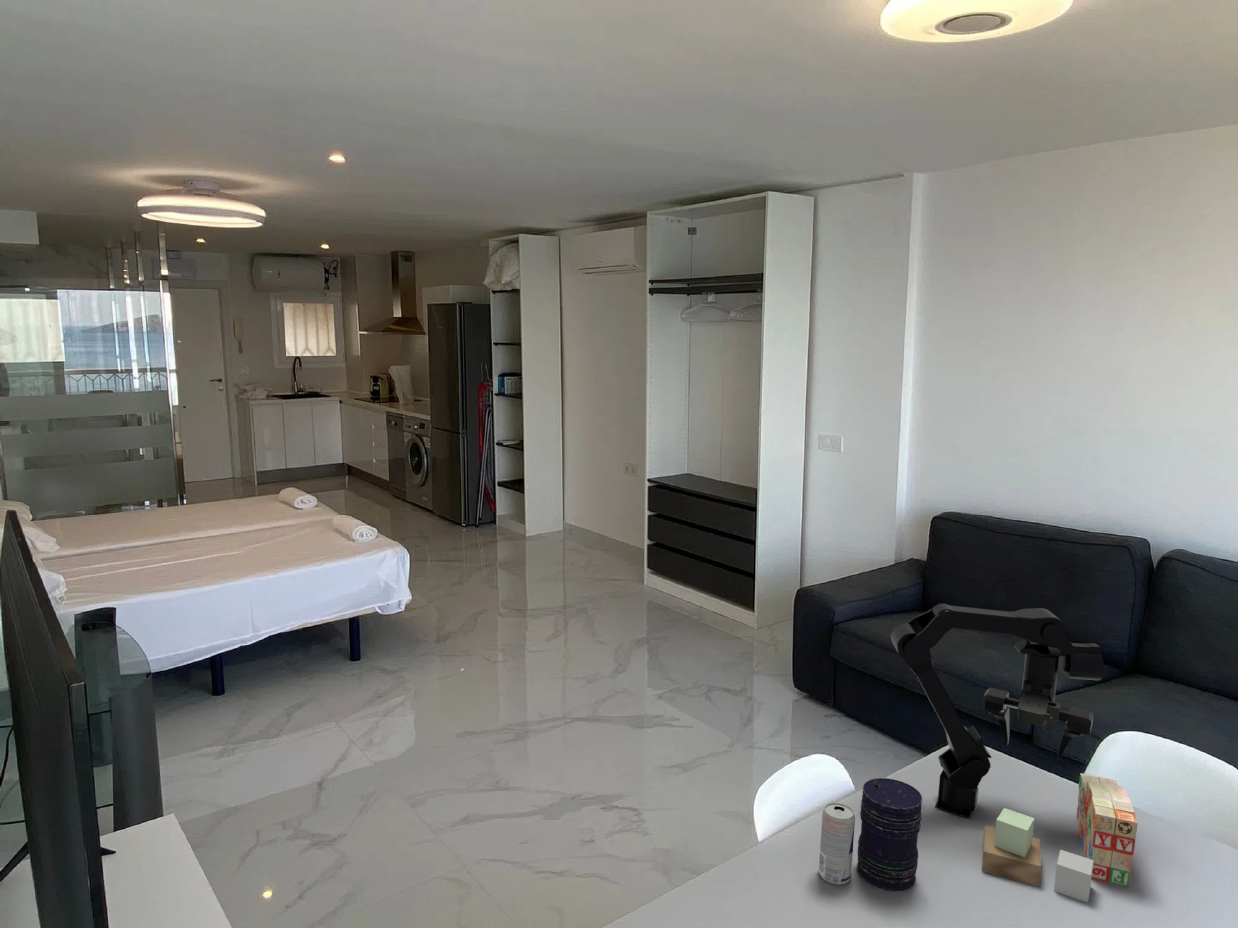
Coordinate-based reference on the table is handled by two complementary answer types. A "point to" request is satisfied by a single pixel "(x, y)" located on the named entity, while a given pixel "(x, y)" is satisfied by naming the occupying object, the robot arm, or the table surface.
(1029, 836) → the sage cube
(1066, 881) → the grey cube
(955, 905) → the table surface
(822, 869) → the energy drink
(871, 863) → the storage jar
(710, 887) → the table surface
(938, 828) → the table surface
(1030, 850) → the walnut block
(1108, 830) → the stack of blocks
